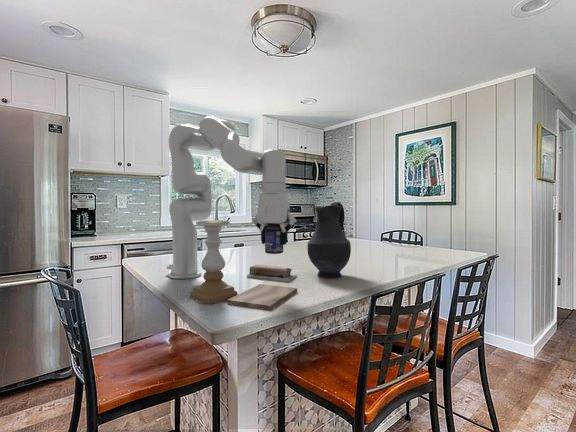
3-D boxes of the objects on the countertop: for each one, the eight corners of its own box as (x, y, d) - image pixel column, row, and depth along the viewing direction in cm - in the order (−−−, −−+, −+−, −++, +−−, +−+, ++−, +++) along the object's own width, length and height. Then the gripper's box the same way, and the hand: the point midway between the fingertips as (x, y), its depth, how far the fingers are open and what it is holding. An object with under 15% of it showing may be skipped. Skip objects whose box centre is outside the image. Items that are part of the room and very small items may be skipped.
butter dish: (245, 266, 127) (258, 262, 136) (245, 278, 127) (258, 273, 136) (286, 270, 119) (297, 266, 129) (286, 283, 120) (297, 278, 129)
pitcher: (299, 276, 128) (299, 202, 127) (324, 268, 145) (324, 202, 144) (339, 283, 119) (339, 201, 117) (360, 273, 136) (361, 202, 134)
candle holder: (219, 290, 108) (218, 220, 107) (238, 297, 100) (237, 221, 99) (188, 297, 100) (188, 221, 99) (207, 305, 93) (206, 222, 92)
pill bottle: (279, 254, 101) (279, 219, 101) (261, 253, 103) (261, 219, 103) (286, 251, 107) (286, 218, 107) (269, 250, 109) (269, 218, 109)
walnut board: (227, 303, 94) (227, 299, 94) (259, 287, 112) (259, 284, 112) (270, 310, 88) (270, 305, 88) (297, 291, 107) (297, 288, 107)
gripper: (245, 188, 104) (245, 243, 105) (294, 187, 97) (294, 246, 98) (256, 189, 111) (256, 241, 112) (302, 188, 104) (302, 243, 105)
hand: (274, 243), depth 105 cm, fingers closed on pill bottle, 6 cm apart
